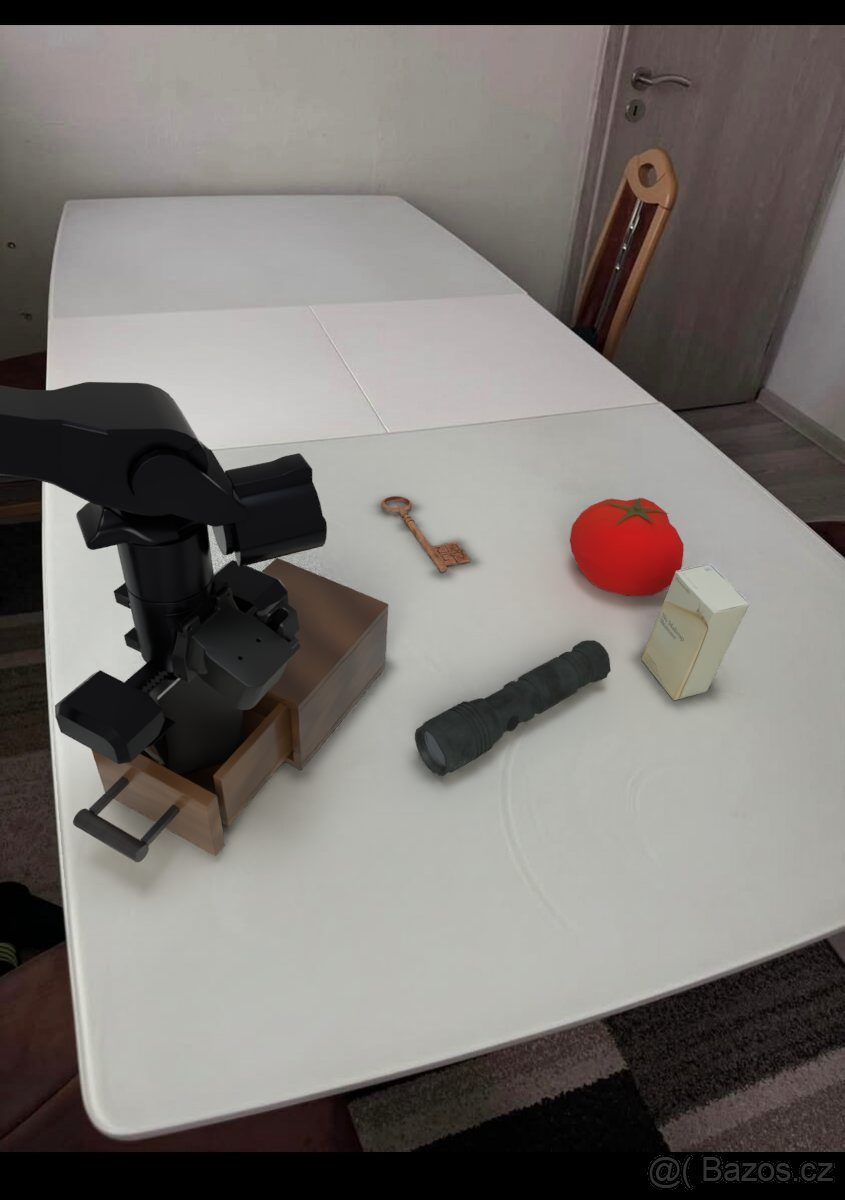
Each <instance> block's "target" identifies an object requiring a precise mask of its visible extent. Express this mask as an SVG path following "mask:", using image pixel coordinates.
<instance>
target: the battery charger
mask: <svg viewBox="0 0 845 1200" xmlns="http://www.w3.org/2000/svg"><path fill="white" fill-rule="evenodd" d="M158 703H159V706H160V708H161V709H162V710H163V714H164V716H165V717H167V718H169V719H171V720H173V721H175V724H174V725H173V726H172V727H171V728H170V729H169V730H168V731H167V732H166V733H165V735H166V741H167V746H168V761H167V762H166V763H165V764H163V763H161V762H160V765H162V766H164V767H165V768H167V769H169V770H171V771H173V772H175V773H176V774H178V775H182V774H186V773H189V772H193V771H197V770H201V769H204V768H208V767H211V766H215V765H218V764H222V763H225V762H226V761H227V760H228V759H229V758H230V757H231V755H232V754H233V753H234V752H235V751H236V750H237V749H238V748H239V747H240V746H241V745H242V743H243V710H241V709H238V708H236V707H235V706H233V705H232V704H231V703H230V702H229V700H228V699H227V698H225V697H224V696H223V695H221V694H220V693H219V692H217V691H216V690H215V689H213V688H212V687H211V686H210V685H208V684H207V683H206V682H204V681H203V680H202V679H201V678H200V677H199V675H198V673H197V675H196V676H195V677H194V678H193V679H192V680H191V681H190V682H189V683H188V682H186V681H184V680H182V679H180V680H179V681H178V682H177V683H176V684H175V685H174V686H173V687H172V688H171V689H169V690H168V691H167V692H166V693H165V694H164V695H163V696H162V697H161V698H160V699H159V700H158Z"/></svg>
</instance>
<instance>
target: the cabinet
mask: <svg viewBox="0 0 845 1200" xmlns="http://www.w3.org/2000/svg"><path fill="white" fill-rule="evenodd" d="M261 572H263V573H265V574H268V575H270V576H272V577H275V578H277V579H279V580H280V581H281V582H282V583H283V584H284V586H285V587H286V589H287V591H288V605H290V606H291V607H292V608H294V609H295V610H296V611H297V617H298V623H299V629H300V630H299V633H298V635H297V637H296V638H297V639H298V640H299V641H298V643H299V644H300V646H301V648H300V650H299V651H298V652H297V653H296V654H295V655H294V656H293V657H292V658H291V659H290V660H289V662H288V664H287V666H286V668H285V670H284V672H283V674H282V676H281V678H280V680H279V681H278V682H277V683H276V684H275V685H274V686H273V687H272V688H271V689H270V690H269V691H268V692H267V693H266V694H265V695H264V696H267V697H269V698H271V699H273V700H275V701H277V702H279V703H281V704H283V705H285V706H287V707H289V708H291V721H292V738H293V751H292V752H291V753H290V755H289V756H288V757H287V758H286V759H285V760H284V762H283V763H286V764H287V765H290V766H291V767H293V768H295V769H298V770H300V771H302V770H303V769H305V767H306V766H307V764H308V763H309V762H310V761H311V759H312V758H313V757H314V756H315V754H317V752H318V751H319V750H320V749H321V747H322V746H323V745H324V743H325V742H326V741H327V740H328V738H329V737H330V736H331V735H332V734H333V733H334V731H335V730H336V729H337V727H338V726H339V725H340V724H341V723H342V721H343V720H344V719H345V717H347V715H348V714H349V713H350V712H351V710H352V709H353V708H354V706H355V705H356V704H357V703H358V702H359V701H360V699H361V698H362V697H363V696H364V694H365V693H366V692H367V690H368V689H369V688H370V687H371V686H372V684H373V683H374V682H375V681H376V680H377V678H378V677H379V676H380V675H381V674H382V672H383V671H384V670H385V668H386V658H387V657H386V656H387V640H388V639H387V637H388V621H389V603H387V602H385V601H382V600H380V599H377V598H375V597H373V596H370V595H368V594H365V593H363V592H360V591H358V590H356V589H353V588H351V587H349V586H346V585H344V584H341V583H339V582H336V581H334V580H332V579H330V578H327V577H325V576H322V575H320V574H317V573H315V572H312V571H310V570H308V569H305V568H303V567H301V566H298V565H296V564H293V563H291V562H288V561H286V560H284V559H281V558H280V557H278V558H274V559H273V561H271V562H270V563H269V564H268V565H267V566H266V567H265V568H264V569H262V570H261Z"/></svg>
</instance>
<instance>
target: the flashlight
mask: <svg viewBox="0 0 845 1200" xmlns="http://www.w3.org/2000/svg"><path fill="white" fill-rule="evenodd" d="M610 673H611V659H610V656H609V652H608V650H607V649H606V648H605V647H604V646H603V645H602V643H601V642H599V641H597V640H591V639H588V640H587V639H586V640H582V641H579V642H578V643H577V644H575V645H574V646H572V649H571V650H570V651H565V652H563V653H561V654H560V655H558V656H556V657H553V658H552V659H549V660H548V661H546V662H544V663H542V664H540V665H538V666H536V667H535V668H532V669H531V670H529V671H527V672H525V673H523V674H522V675H520V676H519V677H517V679H516V680H512V681H509V682H507V683H506V684H504V685H503V687H502V688H501V689H499V690H498V691H495V692H494V693H492V694H490V695H488V696H486V697H484V698H476V699H471V700H469V701H468V700H465V701H462V702H460V703H458V704H456V705H454V706H452V707H450V708H448V709H446V710H444V711H442V712H440V713H438V714H437V715H435V716H433V717H431V718H430V719H428V720H426V721H424V722H423V723H422V725H420V726H418V727H417V728H416V729H415V732H414V741H415V745H416V749H417V751H418V754H419V756H420V758H421V759H422V760H423V762H424V764H425V766H427V768H428V769H429V770H430V771H431V772H433V773H434V774H438V776H440V777H444V776H446V775H447V774H452V773H454V772H455V771H457V770H459V769H460V768H462V767H464V766H466V765H467V764H469V763H470V762H472V761H475V760H476V759H477V758H479V757H480V756H482V755H484V754H486V753H487V752H489V751H490V750H492V748H493V746H494V745H495V744H496V743H497V742H498V741H499V740H501V738H503V736H504V733H506V732H513V731H515V730H516V729H517V727H518V726H519V725H520V724H521V723H527V722H529V721H531V720H532V719H534V718H535V715H541V714H542V713H544V712H547V710H549V709H552V708H553V707H554V706H556V705H559V704H560V703H561V702H563V701H564V700H566V699H568V698H570V697H571V696H572V695H575V694H576V693H577V692H578V690H579V689H581V688H583V687H585V686H588V685H589V683H597V682H599V681H602V680H604V679H606V678H607V677H608V675H609V674H610Z"/></svg>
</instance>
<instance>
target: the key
mask: <svg viewBox="0 0 845 1200" xmlns="http://www.w3.org/2000/svg"><path fill="white" fill-rule="evenodd" d="M394 501H396V502H397V501H398V502H403V503H405V504H406V506H402V505H400V504H397V505H396V507H392V506H389V505H387V504H386V503H388V502H389V503H390V502H394ZM380 504H381V507H382V508H383V509H384V510H385V511H387V512H391V513H399V514H400V516H401V518H402V519H403V522H405V525H406V526H407V527H409V529H410V530H411V532H412V533H413V535H414V536H415V537H416V539H417V540H418V542H419V543H420V545H421V546H422V547H423V549H424V550H425V551H426V552H427V554H428V555H429V557H430V559H431V560H432V561H433V562H434V564H435V565H436V567H437V568H438V570H439V571H440V572H441V573H442V572H443V573H444V572H446V571H447V570H448V567H447V566H452V565H457V564H465V563H470V562H471V561H472V559H471V558H470V556H469V555H468V553H466V551H465V550H464V549H463V547H462V546H461V544H460V543H459V542H457V541H455V542H448V543H444V544H442V543H441V544H436V545H431V543H430V542H429V541H428V540H427V538H426V536H425V535H424V534H423V533H422V531H421V529H420V528H419V526H418V525H417V524H416V522H415V520H414V519H413V518H412V517H411V516H410V515H409V513H408V512H407V511H409V510H410V509H411V507H412V505H413V504H412V502H411V500H409V499H408V498H406V497H403V496H399V495H396V496H395V495H394V496H392V495H391V496H388V497H386V498H384V499H383V500H382V501H381V503H380Z"/></svg>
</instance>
